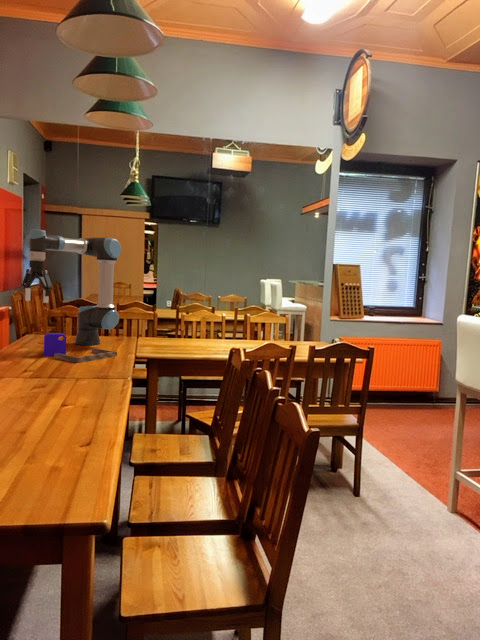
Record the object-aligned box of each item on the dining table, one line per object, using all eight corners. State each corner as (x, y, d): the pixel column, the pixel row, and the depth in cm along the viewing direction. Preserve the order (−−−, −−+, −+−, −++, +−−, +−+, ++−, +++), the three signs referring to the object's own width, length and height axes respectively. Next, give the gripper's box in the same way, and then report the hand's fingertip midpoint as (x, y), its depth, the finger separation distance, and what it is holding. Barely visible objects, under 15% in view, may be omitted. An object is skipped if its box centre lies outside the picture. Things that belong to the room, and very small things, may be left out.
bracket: (65, 356, 274) (66, 334, 273) (43, 356, 270) (44, 334, 268) (63, 350, 290) (64, 330, 289) (43, 350, 286) (43, 329, 285)
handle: (94, 352, 289) (94, 348, 289) (116, 356, 281) (117, 351, 281) (54, 358, 265) (54, 353, 264) (78, 362, 257) (78, 357, 256)
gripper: (14, 258, 265) (14, 300, 267) (48, 260, 253) (47, 303, 255) (27, 259, 271) (26, 299, 273) (60, 261, 259) (59, 303, 261)
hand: (36, 301), depth 264 cm, fingers open, 13 cm apart
